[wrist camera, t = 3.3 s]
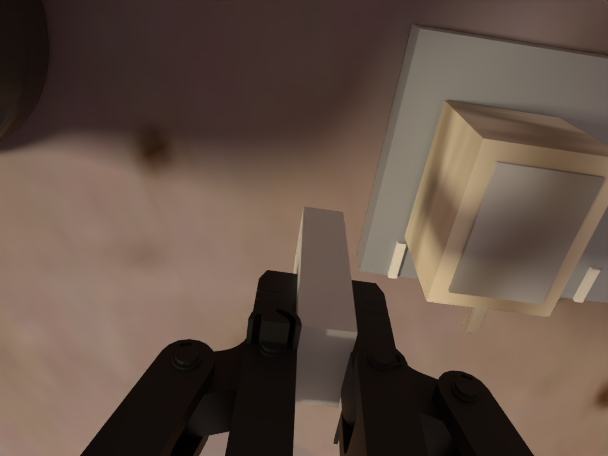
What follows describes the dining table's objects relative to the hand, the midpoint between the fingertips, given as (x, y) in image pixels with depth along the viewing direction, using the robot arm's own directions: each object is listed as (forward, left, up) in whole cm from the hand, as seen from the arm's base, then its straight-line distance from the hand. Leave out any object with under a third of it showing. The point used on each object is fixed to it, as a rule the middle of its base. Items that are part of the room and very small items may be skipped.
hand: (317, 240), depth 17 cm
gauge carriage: (+9, -1, -8) cm, 12 cm away
